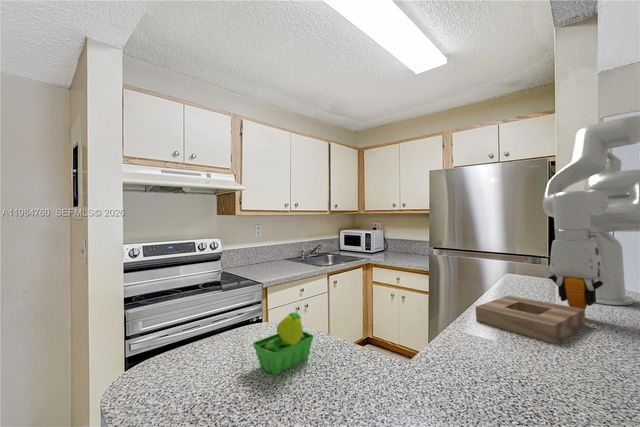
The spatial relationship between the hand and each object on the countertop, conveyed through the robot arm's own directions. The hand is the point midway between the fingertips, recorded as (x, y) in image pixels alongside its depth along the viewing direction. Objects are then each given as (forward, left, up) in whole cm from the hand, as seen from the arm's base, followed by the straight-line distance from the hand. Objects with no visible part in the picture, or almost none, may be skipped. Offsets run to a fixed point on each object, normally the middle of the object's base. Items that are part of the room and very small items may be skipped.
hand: (577, 301), depth 78 cm
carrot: (0, 0, -5) cm, 5 cm away
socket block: (+14, -6, -4) cm, 16 cm away
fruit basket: (+76, -25, -5) cm, 80 cm away
